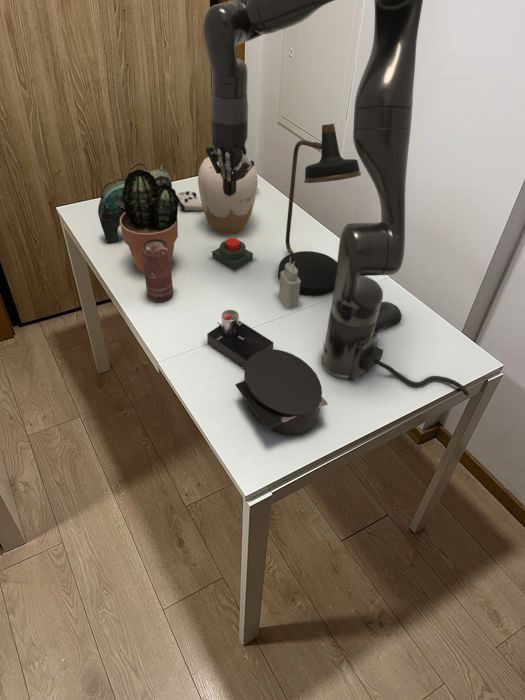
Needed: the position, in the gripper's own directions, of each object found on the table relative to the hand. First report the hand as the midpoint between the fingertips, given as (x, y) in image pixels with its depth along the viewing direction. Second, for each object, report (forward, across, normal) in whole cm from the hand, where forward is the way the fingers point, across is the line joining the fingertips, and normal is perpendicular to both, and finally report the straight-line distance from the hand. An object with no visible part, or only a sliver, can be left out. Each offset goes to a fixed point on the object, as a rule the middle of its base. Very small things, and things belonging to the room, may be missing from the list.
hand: (229, 194), depth 121 cm
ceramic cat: (+21, +29, +5) cm, 36 cm away
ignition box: (+21, +3, -4) cm, 22 cm away
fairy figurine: (+21, +26, -32) cm, 46 cm away
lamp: (+21, -14, -13) cm, 29 cm away
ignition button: (+17, +3, -4) cm, 18 cm away
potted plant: (+21, +16, +12) cm, 29 cm away
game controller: (+21, +32, -15) cm, 41 cm away
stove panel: (+22, -21, +19) cm, 36 cm away
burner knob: (+18, -18, +19) cm, 32 cm away
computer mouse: (+22, -38, -9) cm, 45 cm away
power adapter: (+22, -18, -1) cm, 28 cm away
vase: (+21, +16, -15) cm, 30 cm away
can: (+22, +5, +19) cm, 29 cm away
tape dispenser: (+22, -37, +25) cm, 50 cm away
